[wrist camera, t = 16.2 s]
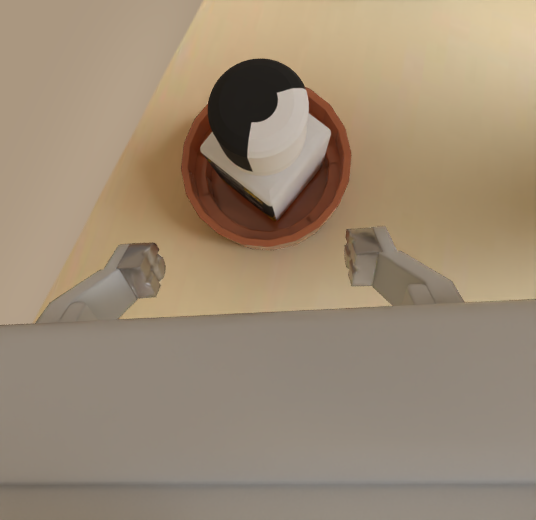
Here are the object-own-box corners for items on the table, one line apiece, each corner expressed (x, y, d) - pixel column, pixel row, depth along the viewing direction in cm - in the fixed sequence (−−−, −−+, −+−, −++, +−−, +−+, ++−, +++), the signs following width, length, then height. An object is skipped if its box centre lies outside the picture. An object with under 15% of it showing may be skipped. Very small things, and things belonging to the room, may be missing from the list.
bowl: (262, 80, 30) (257, 45, 25) (372, 169, 29) (387, 150, 24) (169, 187, 30) (148, 172, 26) (274, 280, 29) (271, 281, 24)
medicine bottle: (219, 178, 29) (169, 113, 17) (265, 121, 29) (247, 16, 17) (276, 223, 29) (264, 188, 17) (323, 165, 28) (346, 87, 17)
